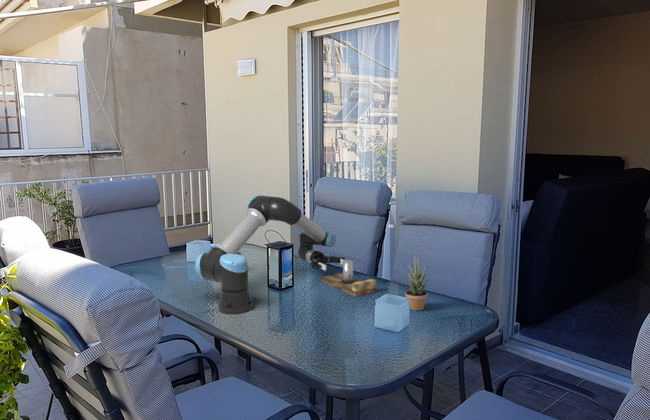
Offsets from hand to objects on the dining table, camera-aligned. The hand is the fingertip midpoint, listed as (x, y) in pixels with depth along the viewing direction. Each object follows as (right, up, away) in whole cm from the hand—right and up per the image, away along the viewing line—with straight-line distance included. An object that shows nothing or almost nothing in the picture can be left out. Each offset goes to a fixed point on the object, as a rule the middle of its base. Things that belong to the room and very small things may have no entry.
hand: (337, 265), depth 265 cm
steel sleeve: (+5, -10, -7) cm, 13 cm away
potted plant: (+33, -15, -39) cm, 54 cm away
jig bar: (+5, -10, -7) cm, 13 cm away
